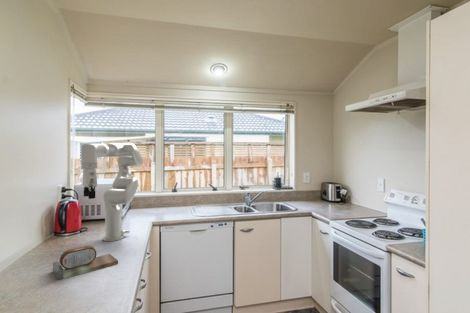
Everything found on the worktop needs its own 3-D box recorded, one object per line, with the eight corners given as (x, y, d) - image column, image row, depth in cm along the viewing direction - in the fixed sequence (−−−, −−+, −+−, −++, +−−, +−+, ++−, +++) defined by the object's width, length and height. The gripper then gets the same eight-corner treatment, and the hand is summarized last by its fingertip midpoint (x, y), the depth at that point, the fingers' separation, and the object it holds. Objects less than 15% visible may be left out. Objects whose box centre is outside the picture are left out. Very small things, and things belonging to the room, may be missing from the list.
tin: (95, 260, 130) (95, 243, 130) (97, 262, 128) (97, 245, 128) (59, 269, 120) (59, 251, 120) (60, 272, 118) (60, 253, 118)
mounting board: (109, 256, 139) (109, 253, 139) (117, 263, 131) (117, 260, 130) (57, 269, 123) (57, 266, 123) (63, 278, 115) (63, 275, 115)
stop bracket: (57, 269, 123) (57, 261, 123) (63, 278, 115) (63, 269, 115) (52, 270, 122) (52, 262, 122) (57, 280, 113) (57, 270, 113)
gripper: (101, 166, 141) (101, 198, 141) (92, 165, 154) (92, 194, 154) (86, 167, 136) (86, 200, 136) (77, 165, 148) (77, 196, 149)
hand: (89, 197), depth 145 cm, fingers open, 9 cm apart
